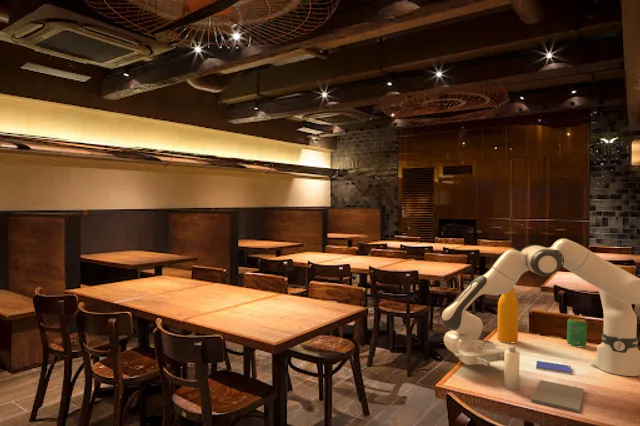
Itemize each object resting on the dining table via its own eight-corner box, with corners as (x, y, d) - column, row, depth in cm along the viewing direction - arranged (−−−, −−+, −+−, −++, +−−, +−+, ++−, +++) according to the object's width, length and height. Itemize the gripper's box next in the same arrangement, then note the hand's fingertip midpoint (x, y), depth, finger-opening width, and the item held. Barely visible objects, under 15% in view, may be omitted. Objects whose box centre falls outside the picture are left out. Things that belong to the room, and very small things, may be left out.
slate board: (540, 382, 169) (540, 379, 169) (584, 391, 161) (584, 388, 161) (531, 401, 152) (531, 398, 152) (579, 413, 144) (579, 409, 144)
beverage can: (588, 344, 216) (588, 319, 216) (584, 348, 210) (584, 322, 210) (569, 341, 221) (569, 316, 221) (564, 344, 215) (565, 319, 215)
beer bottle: (516, 344, 214) (517, 283, 213) (495, 341, 219) (496, 281, 218) (519, 340, 222) (520, 280, 221) (499, 336, 227) (500, 278, 226)
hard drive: (570, 365, 184) (536, 360, 190) (571, 371, 177) (536, 366, 183) (570, 369, 184) (536, 363, 190) (571, 375, 177) (536, 370, 183)
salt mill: (505, 383, 167) (506, 343, 167) (520, 386, 165) (520, 346, 164) (502, 387, 163) (503, 347, 163) (517, 391, 160) (518, 350, 160)
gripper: (452, 345, 180) (475, 356, 167) (493, 340, 187) (519, 350, 174) (451, 361, 180) (475, 373, 167) (493, 355, 187) (519, 367, 174)
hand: (498, 362), depth 170 cm, fingers open, 8 cm apart
